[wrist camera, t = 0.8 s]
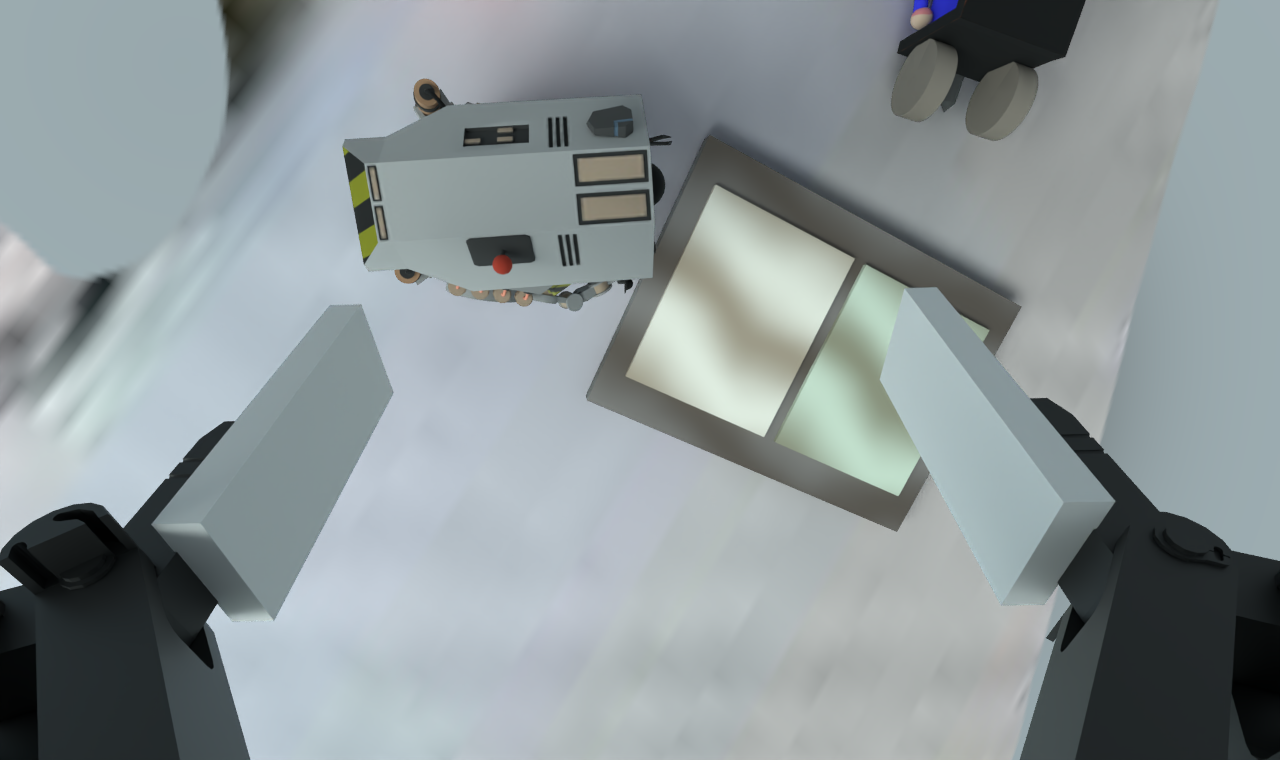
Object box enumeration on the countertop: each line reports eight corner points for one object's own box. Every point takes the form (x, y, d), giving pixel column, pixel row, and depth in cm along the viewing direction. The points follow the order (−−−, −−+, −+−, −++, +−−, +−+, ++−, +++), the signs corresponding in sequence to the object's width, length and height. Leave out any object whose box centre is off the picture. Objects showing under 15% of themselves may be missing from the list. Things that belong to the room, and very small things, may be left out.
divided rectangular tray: (704, 139, 33) (711, 133, 31) (1007, 305, 37) (1025, 307, 36) (585, 395, 35) (587, 401, 33) (887, 523, 39) (899, 533, 38)
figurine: (624, 319, 34) (674, 363, 20) (420, 283, 32) (308, 302, 18) (654, 158, 33) (732, 76, 18) (441, 110, 31) (337, -25, 16)
